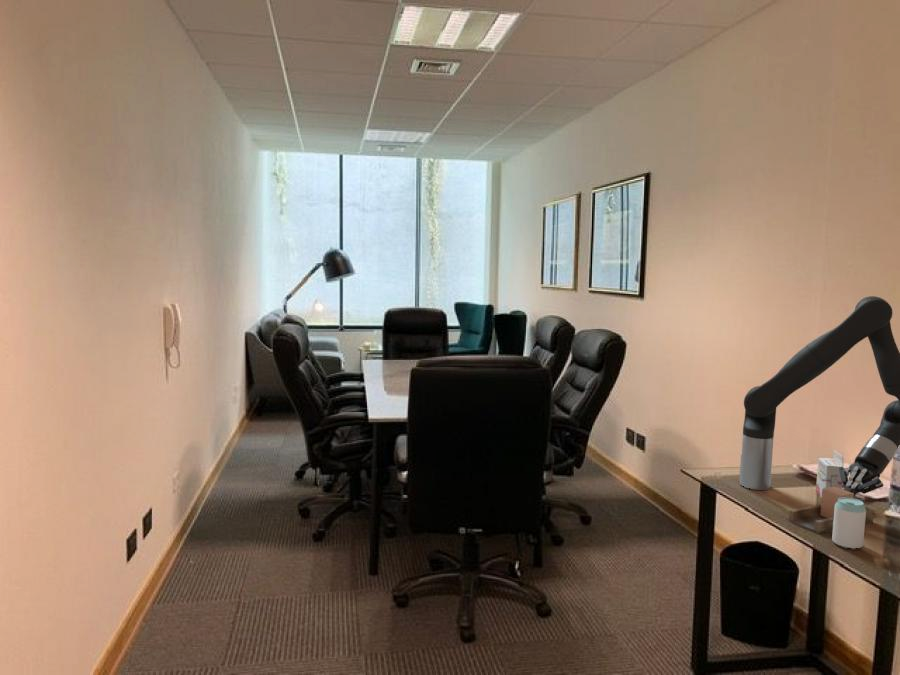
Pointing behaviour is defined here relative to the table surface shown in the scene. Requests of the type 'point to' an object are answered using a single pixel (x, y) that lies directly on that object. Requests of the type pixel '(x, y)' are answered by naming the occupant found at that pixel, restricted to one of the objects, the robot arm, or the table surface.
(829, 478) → the ink cartridge box
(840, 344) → the robot arm
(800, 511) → the chute
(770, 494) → the table surface
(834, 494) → the block
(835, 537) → the can
